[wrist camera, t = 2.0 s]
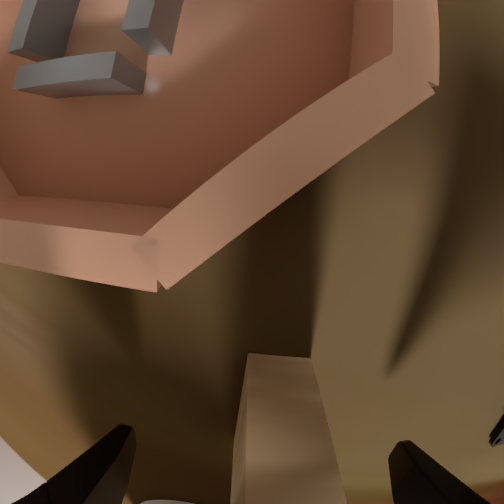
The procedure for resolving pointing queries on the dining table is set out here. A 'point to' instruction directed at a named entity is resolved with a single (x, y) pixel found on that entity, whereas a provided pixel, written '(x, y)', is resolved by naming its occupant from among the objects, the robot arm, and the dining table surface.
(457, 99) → the dining table surface
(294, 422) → the block
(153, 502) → the cup
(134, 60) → the candle dish
